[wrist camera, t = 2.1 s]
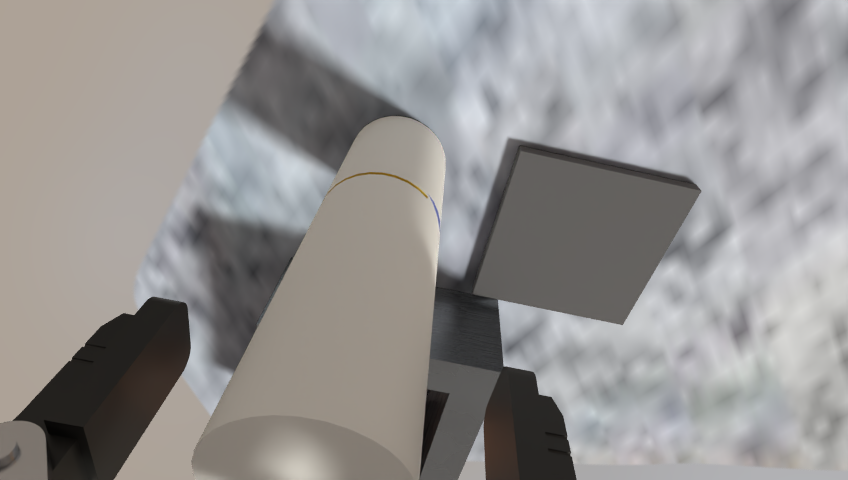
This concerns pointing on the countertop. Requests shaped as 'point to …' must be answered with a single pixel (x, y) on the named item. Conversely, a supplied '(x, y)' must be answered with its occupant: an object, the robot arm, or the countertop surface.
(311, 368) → the tube
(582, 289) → the pad
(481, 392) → the frame
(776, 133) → the countertop surface
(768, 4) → the countertop surface
